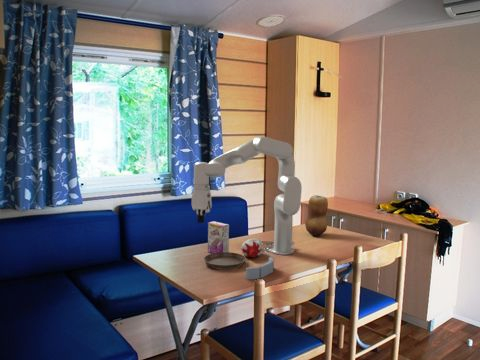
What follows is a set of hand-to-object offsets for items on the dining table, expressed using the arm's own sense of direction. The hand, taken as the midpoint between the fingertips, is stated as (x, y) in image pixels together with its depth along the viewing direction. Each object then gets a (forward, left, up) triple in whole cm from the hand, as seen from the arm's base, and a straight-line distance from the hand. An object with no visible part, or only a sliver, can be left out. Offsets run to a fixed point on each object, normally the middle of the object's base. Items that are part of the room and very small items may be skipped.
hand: (200, 222), depth 220 cm
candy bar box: (-11, +3, -19) cm, 22 cm away
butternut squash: (-79, +27, -19) cm, 86 cm away
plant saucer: (0, +16, -19) cm, 25 cm away
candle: (-18, +20, -19) cm, 33 cm away
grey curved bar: (0, +38, -19) cm, 42 cm away
